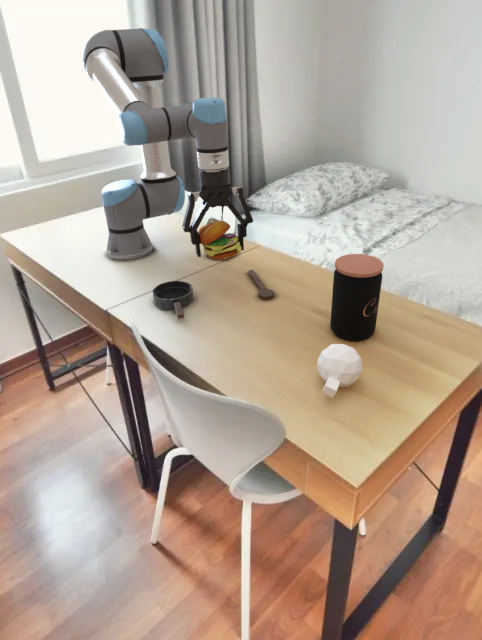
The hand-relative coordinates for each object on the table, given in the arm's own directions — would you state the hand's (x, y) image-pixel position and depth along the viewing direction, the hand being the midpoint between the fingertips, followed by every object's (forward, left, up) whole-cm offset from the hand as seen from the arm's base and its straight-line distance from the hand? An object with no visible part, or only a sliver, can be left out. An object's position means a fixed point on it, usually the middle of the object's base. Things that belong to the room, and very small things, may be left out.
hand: (220, 251), depth 124 cm
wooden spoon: (-1, +11, -13) cm, 17 cm away
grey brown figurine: (-27, +5, -13) cm, 30 cm away
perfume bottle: (+46, +12, -13) cm, 49 cm away
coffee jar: (+29, +25, -13) cm, 41 cm away
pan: (-1, -14, -13) cm, 19 cm away
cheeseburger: (0, 0, -1) cm, 1 cm away
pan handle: (+9, -14, -13) cm, 21 cm away
